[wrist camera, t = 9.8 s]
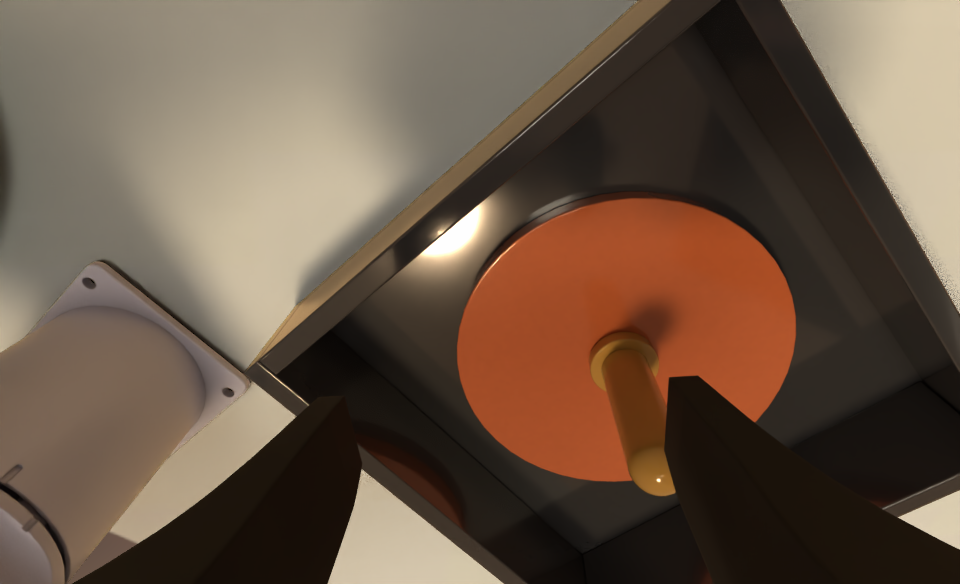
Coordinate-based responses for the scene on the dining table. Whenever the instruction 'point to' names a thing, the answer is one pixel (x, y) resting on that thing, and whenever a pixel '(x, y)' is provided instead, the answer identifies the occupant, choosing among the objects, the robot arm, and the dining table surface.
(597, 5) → the dining table surface
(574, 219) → the orange round pegged disc
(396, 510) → the dining table surface
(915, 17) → the dining table surface
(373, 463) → the tray
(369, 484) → the dining table surface
